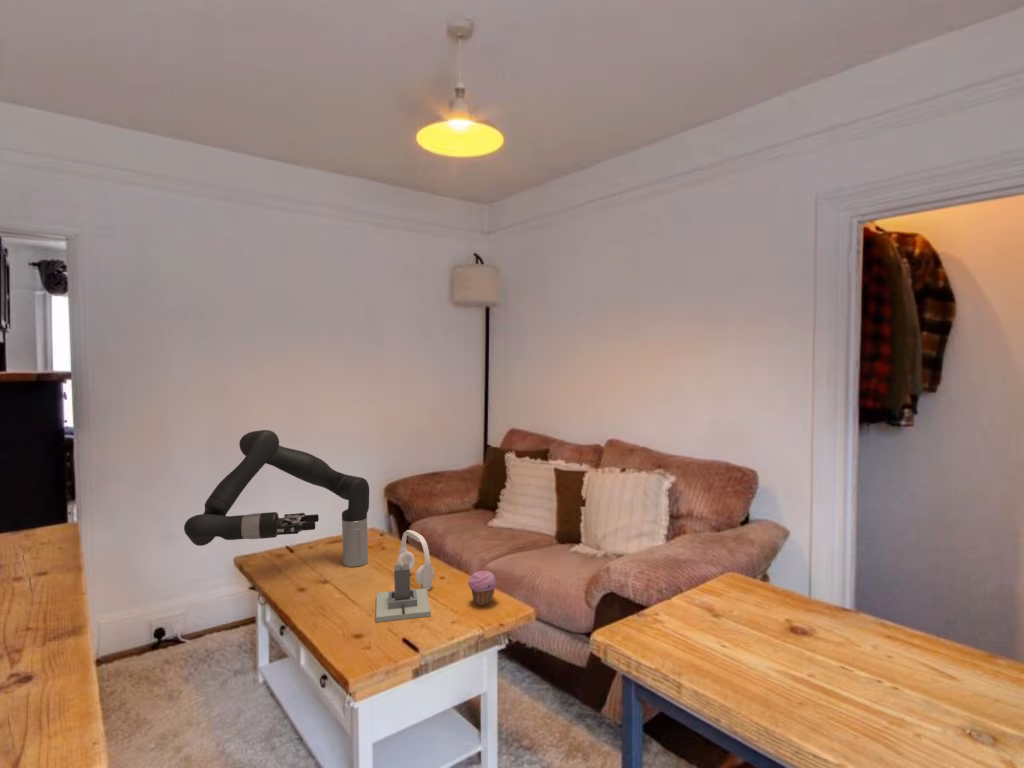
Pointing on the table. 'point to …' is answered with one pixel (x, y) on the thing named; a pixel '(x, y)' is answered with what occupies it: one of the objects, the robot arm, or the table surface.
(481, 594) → the cupcake
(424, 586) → the headset
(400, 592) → the charger block
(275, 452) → the robot arm
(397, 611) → the charging dock
